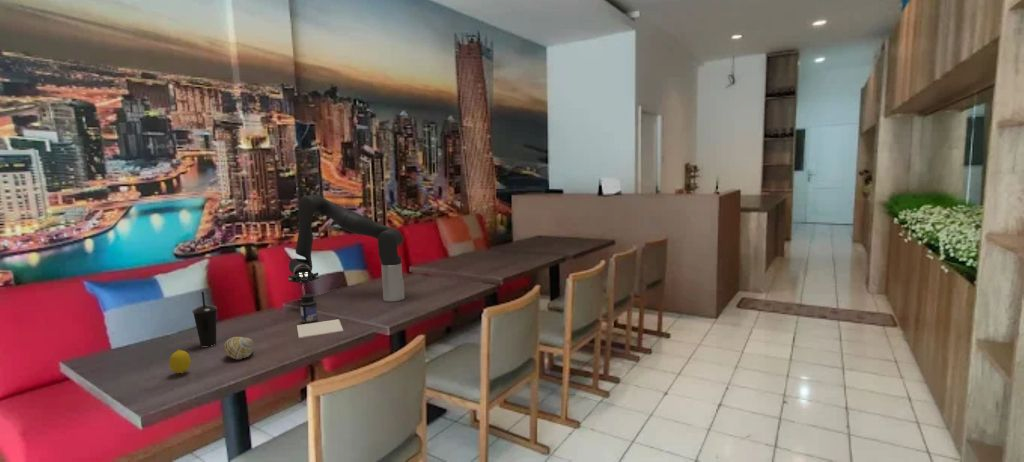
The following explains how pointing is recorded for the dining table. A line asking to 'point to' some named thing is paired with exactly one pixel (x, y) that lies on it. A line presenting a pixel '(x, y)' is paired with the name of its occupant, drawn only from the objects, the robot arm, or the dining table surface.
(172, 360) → the lemon
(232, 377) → the dining table surface
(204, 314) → the drinking cup
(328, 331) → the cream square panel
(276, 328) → the dining table surface
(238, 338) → the yarn ball
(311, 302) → the pill bottle
